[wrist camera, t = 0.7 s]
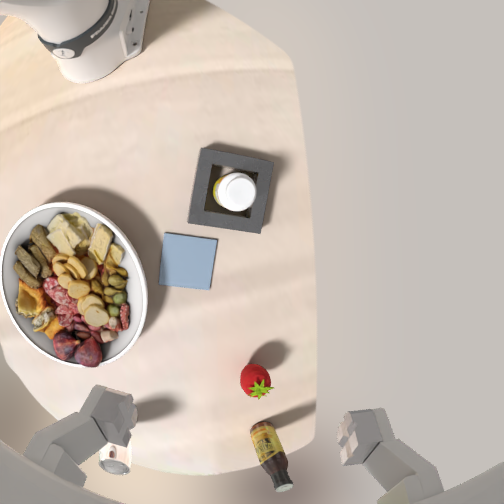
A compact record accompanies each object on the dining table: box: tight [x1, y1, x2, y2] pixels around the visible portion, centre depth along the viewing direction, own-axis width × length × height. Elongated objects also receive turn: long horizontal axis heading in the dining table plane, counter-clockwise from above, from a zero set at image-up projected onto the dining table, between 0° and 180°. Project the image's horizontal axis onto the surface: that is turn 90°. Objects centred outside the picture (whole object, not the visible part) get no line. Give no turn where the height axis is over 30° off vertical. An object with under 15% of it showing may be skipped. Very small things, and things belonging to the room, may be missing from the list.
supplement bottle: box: [213, 173, 256, 211], centre depth 42 cm, size 6×6×10 cm
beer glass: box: [99, 440, 132, 475], centre depth 44 cm, size 7×7×15 cm
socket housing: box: [187, 148, 274, 234], centre depth 45 cm, size 12×12×3 cm
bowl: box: [0, 202, 148, 367], centre depth 40 cm, size 30×30×8 cm
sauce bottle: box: [250, 422, 293, 492], centre depth 52 cm, size 7×6×20 cm
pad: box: [159, 233, 217, 290], centre depth 47 cm, size 9×9×1 cm
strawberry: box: [240, 364, 274, 399], centre depth 51 cm, size 6×8×10 cm
